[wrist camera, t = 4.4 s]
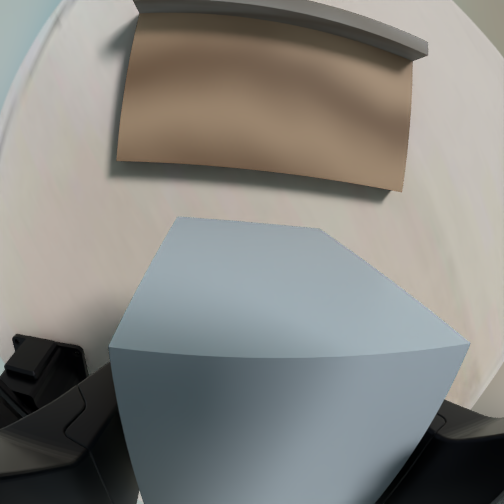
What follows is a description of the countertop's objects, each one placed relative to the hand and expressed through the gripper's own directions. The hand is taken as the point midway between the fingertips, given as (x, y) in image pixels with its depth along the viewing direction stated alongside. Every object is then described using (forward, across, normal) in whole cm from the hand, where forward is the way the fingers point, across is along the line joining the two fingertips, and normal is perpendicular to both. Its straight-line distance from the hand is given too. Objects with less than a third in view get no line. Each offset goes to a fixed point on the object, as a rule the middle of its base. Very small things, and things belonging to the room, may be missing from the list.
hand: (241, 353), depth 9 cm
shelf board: (+11, -2, -10) cm, 15 cm away
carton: (+2, 0, 0) cm, 2 cm away
